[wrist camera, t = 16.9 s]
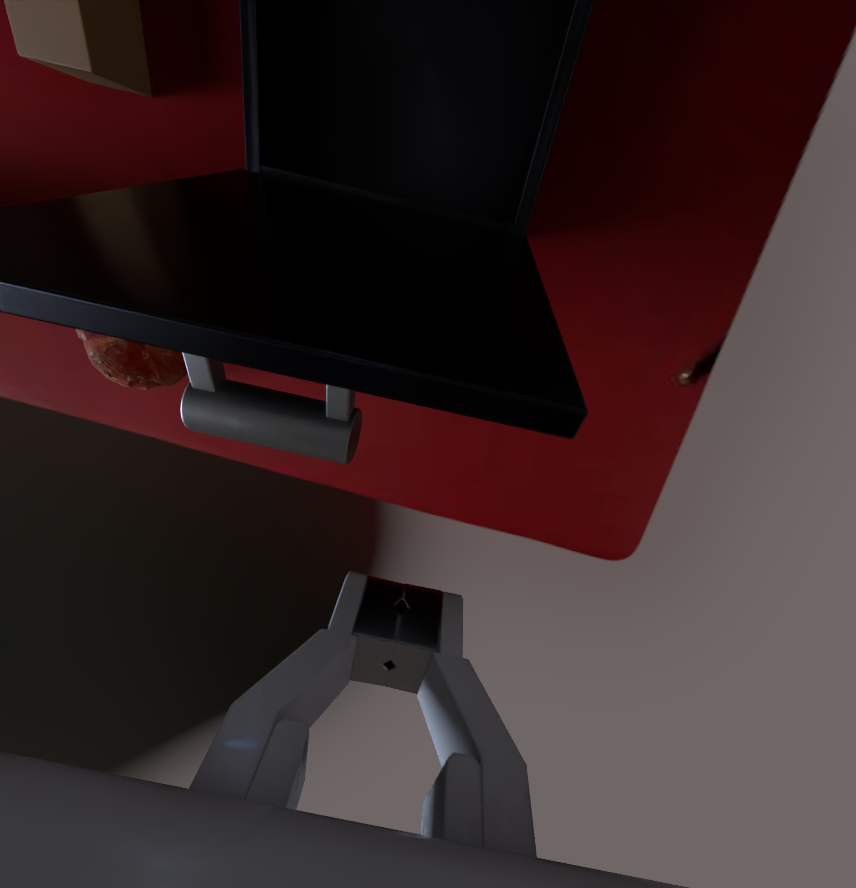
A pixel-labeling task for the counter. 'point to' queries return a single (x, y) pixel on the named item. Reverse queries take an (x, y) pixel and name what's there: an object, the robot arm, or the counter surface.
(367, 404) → the counter surface
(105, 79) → the packet
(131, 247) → the lid
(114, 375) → the pomegranate
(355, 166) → the black square open box
